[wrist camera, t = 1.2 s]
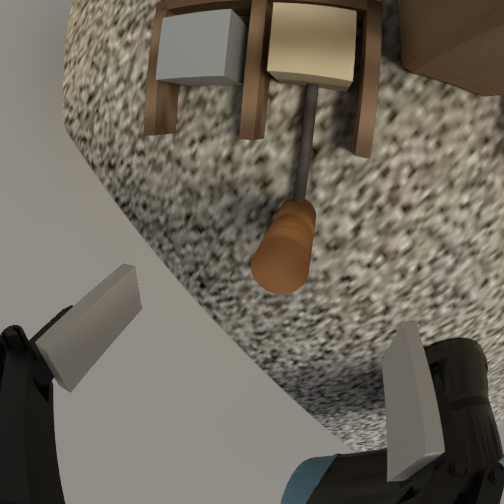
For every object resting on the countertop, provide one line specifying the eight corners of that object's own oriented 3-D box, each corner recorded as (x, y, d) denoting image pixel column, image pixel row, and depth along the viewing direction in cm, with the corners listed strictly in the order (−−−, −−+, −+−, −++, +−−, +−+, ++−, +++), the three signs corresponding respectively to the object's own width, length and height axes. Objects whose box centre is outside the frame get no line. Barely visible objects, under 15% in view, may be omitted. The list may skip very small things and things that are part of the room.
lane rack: (362, 154, 23) (369, 158, 19) (165, 132, 27) (144, 135, 23) (374, 18, 17) (381, 2, 13) (177, 13, 20) (157, 2, 17)
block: (245, 85, 23) (223, 75, 18) (187, 86, 24) (155, 80, 19) (251, 30, 20) (231, 8, 15) (193, 34, 21) (163, 18, 16)
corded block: (324, 237, 27) (321, 301, 18) (265, 227, 28) (231, 283, 19) (350, 34, 18) (363, -19, 9) (285, 26, 19) (257, -28, 10)
